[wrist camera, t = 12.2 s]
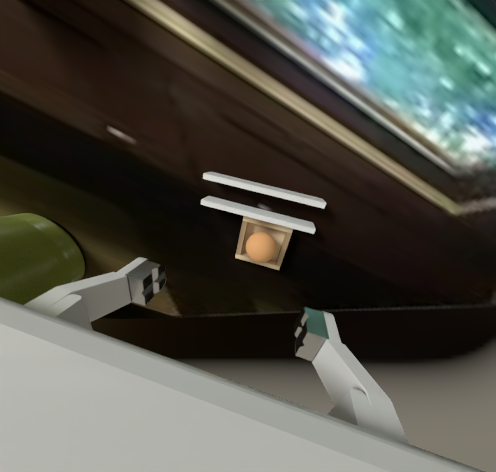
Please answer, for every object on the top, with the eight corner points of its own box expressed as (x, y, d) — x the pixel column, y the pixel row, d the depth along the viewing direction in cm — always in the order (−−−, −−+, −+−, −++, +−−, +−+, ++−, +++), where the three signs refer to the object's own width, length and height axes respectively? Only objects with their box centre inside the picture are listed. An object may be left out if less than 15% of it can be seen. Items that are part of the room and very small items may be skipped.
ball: (280, 232, 30) (278, 245, 25) (273, 256, 32) (269, 272, 28) (252, 224, 30) (245, 235, 26) (247, 248, 33) (239, 263, 28)
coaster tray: (292, 225, 29) (293, 229, 28) (279, 264, 33) (279, 270, 31) (245, 212, 30) (243, 216, 29) (237, 252, 34) (235, 257, 32)
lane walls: (322, 198, 27) (326, 203, 24) (311, 226, 29) (313, 234, 26) (211, 171, 28) (203, 173, 26) (208, 200, 31) (200, 204, 28)
